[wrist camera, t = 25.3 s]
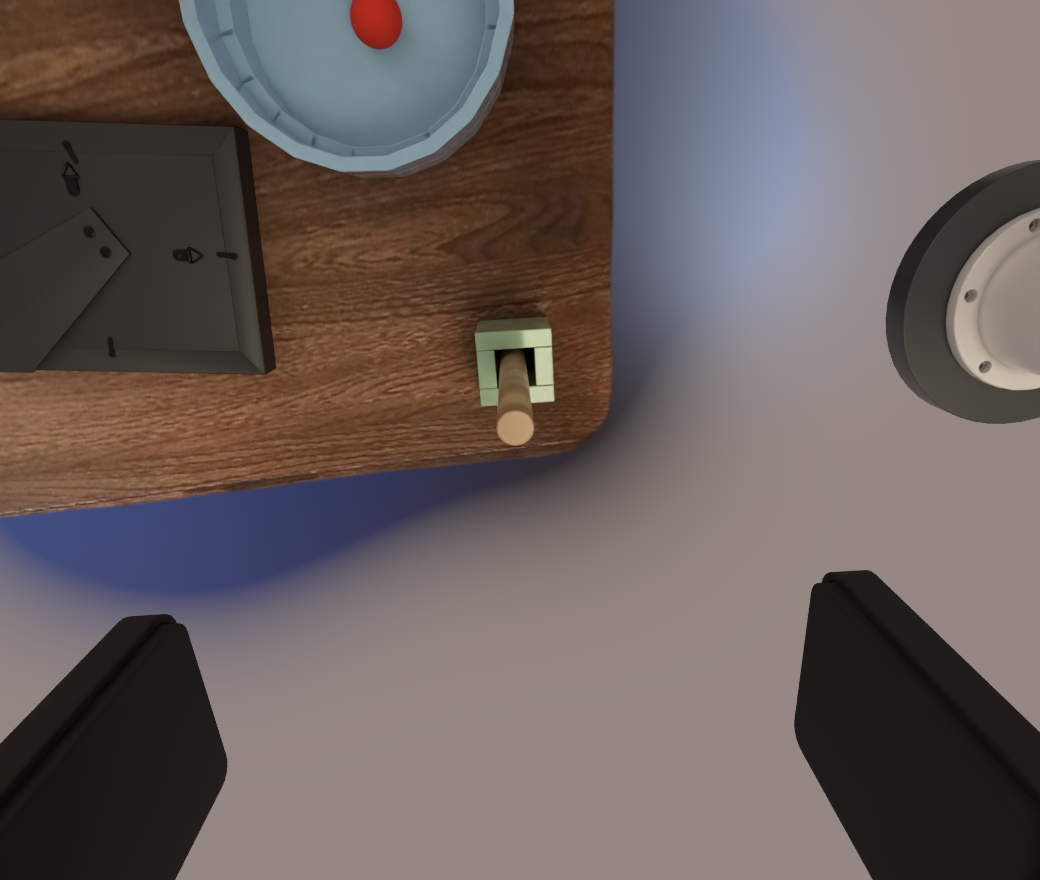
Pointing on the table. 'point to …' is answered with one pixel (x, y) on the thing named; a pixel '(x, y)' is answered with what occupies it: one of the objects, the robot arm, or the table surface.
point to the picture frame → (130, 250)
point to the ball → (376, 22)
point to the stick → (514, 399)
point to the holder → (513, 337)
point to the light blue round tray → (356, 77)
